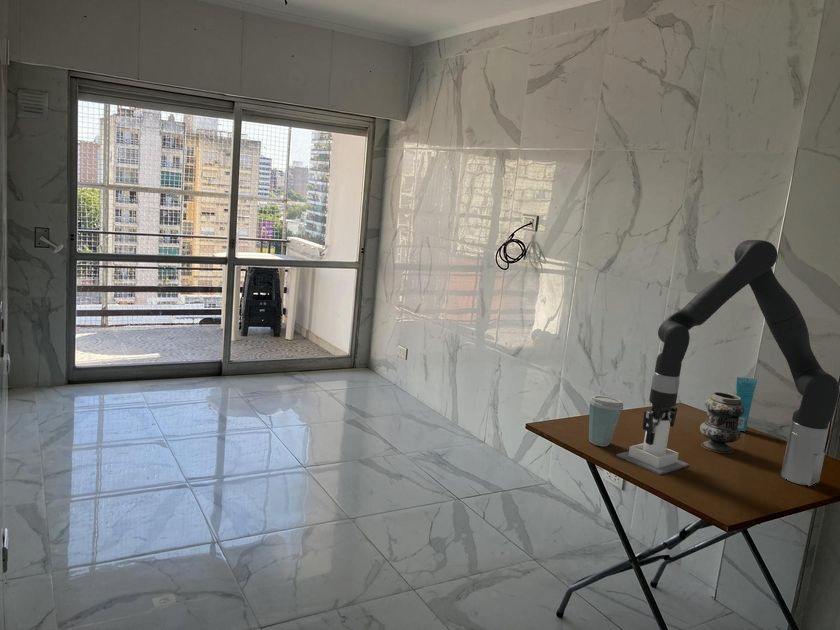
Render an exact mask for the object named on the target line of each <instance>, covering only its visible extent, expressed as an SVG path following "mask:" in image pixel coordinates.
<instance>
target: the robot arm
mask: <svg viewBox="0 0 840 630" xmlns="http://www.w3.org/2000/svg"><path fill="white" fill-rule="evenodd" d="M733 255H734V262H735V265H734V266H732V268H731V269H729V270H728V271H727V272H726V273H725V274H723V276H721V277H719V278H718V279H717V280H715V281H713V282H712V283H711V284H709V285H708V286H706V287H704V288H703V289H702V290H701V291H699V292H698V293H697V294H696V295H695V296H693V298H692V299H691V300H690V301H689V302H688V303H687V304H686V305H685V306H684V307H682V308H681V309H679V310H678V311H676V312H674V313H673V314H672V315H670V316H668V317H667V318H666V319H665V320H664V321H663V322H662V323H661V324H660V326H659V327H658V330H657V336H658V338H659V340H660V341H661V342H662V343H663V348H662V352H661V353H659V354H658V355H657V357H656V360H655V368H654V372H653V377H652V380H651V387H650V393H649V402H650V404H651V405H652V406H651V409H650V410H649V411H648V410H644V412H643V421H642V430H644V431H645V432H646V431H647V435H646V441H645V442H646V443H647V444H649V445H653V442H654V436H655V431H656V427H657V426H659V424H660V422H661V420H663V419H670V420H669V422H670V428H671V427H672V428H673V427H674V425H675V423H676V417H677V413H678V408H677V407H675V406H676V405H677V398H678V393H679V390H680V389H679V388H680V387H679V386H680V377H681V376H680V375H681V371H682V370H681V369H682V364H683V363H682V362H683V361H684V357H685V355H686V353H687V350H688V347H689V343H690V330H691V329H693V327H698V326H701V325H703V324H704V323H705V322H707V320H708V319H710V318H711V317H712V316H713V315H714V314H715V313H716V312H717V311H718V310H719V309H720V308H721V307H722V306H723V305H724V304H726V303H727V301H729V300H730V299H732V298H733V296H735V295H736V294H737V293H738V292H740V291H741V290H742V289H743V288H745V287H746V286H747V285H749V286H750V288H751V291H752V293H753V296H754V297H755V299H756V302H757V305H758V306H759V309H760V311H761V313H762V315H763V319H764V320H765V322H766V325H767V327H768V328H769V331H770V333H771V335H772V337H773V338H774V340H775V342H776V344H777V346H778V349H780V352H781V353H782V354H783V356H784V358H785V361H786V363H787V364H788V368H789V370H790V372H791V376H792V379H793V383H794V384H795V387H796V390H797V391H798V393H799V394H800V395H801V396H802V397H801V402H800V405H799V408H798V409H796V410H794V412H793V414H792V417H791V422H790V427H789V432H788V437H787V442H786V448H785V452H784V457H783V462H782V465H781V466H782V467H781V470H780V471H781V472H780V477H782V478H783V479H785V480H786V479H787V480H786V481H789V482H790V483H791V482H792V483H794V484H798V485H802V486H806V485H808V486H807V487H809V486H811V485H813V484H815V483H817V482H819V483H820V478H821V474H822V469H823V465H824V464H823V463H824V459H825V455H826V453H825V451H824V446H825V442H826V438H827V433H828V428H829V425H830V422H831V421H832V420H833V419H834V415H835V412H836V407H837V404H838V400H839V396H840V384H839V382H838V380H837V378H835V377H834V376H833V375H831V374H829V373H828V372H826V371H825V370H824V369H823V368H822V366H821V365H820V363H819V361H818V360H817V357H816V356H815V354H814V353H813V349H812V347H811V342H810V334H809V328H808V325H807V322H806V320H805V318H804V316H803V314H802V312H801V310H800V307H799V306H798V304H797V303H796V301H795V300H794V299H793V297H792V296H791V295H790V294H789V293H788V291H786V289H785V288H784V287H783V286H782V284H780V282H779V281H778V279H777V278H776V276H775V274H774V270H773V267H774V266H775V265H776V264H775V263H776V262H777V259H778V250H777V248H776V245H774V244H773V243H771V242H769V241H767V240H763V239H762V240H761V239H748V240H743V241H741V242H740V243H739V244H737V246H736V248H735V249H734V254H733ZM653 418H655V419H658V421H657V422H656V423H655V422H653ZM647 424H648V425H647ZM653 425H654V427H653V429H652V426H653ZM817 484H818V483H817ZM815 485H816V484H815ZM813 486H814V485H813ZM811 487H812V486H811Z"/></svg>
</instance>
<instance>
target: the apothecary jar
mask: <svg viewBox="0 0 840 630" xmlns="http://www.w3.org/2000/svg"><path fill="white" fill-rule="evenodd" d="M704 406H705V408H706V410H707V413H706V418H705V421H704V422H702V423H701V424H700V425H699V431H700V433H701V434H702V435H703V436H704V437H705V438H707V439H709V440H706V441H702V442H701V443H700V446H701V447H702V448H704V449H705V450H708V451H710V452H714V453H718V454H726V455H727V454H728V455H729V454H732V453H734V451H735V450H734V448H733V447H732V446H730V445H728V444H729V443H731V444H732V443H735V442H737V441H739V439H740V438H741V432H740V431H739V430H738V429H737V427H738V420H739V416H741V415H742V414H743V413H744V411H745V409H744V407H743V405H742V404H741V398H740V397H738V396H736V395H735V394H733V393H728V392H723V391H714V392H712V395H711V397H709V398H708V399H706V400H705V403H704Z"/></svg>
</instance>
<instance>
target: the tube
mask: <svg viewBox="0 0 840 630" xmlns="http://www.w3.org/2000/svg"><path fill="white" fill-rule="evenodd" d="M757 383H758V378H749V377H740V376H737V377H736V384H735V385H736V386H735V394H734V395H736V396H738V397H740V398H741V404H742V405H743V407H744V409H745V411H744V413H743V414H742V415H741V416H739V420H738V427H737V429H738V430H739V432H740V431H744V432H746V431H747V426H748V422H749V417H750V416H749V415H750V411H751V406H752V403H753V398H754V395H755V390H756V386H757Z"/></svg>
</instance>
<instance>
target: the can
mask: <svg viewBox="0 0 840 630" xmlns="http://www.w3.org/2000/svg"><path fill="white" fill-rule="evenodd" d="M670 419H671V418H670ZM670 419H663V420H661V422H660V424H659V426H657V427H656V431H655V436H654V442H653V445H649V444H647V443H646V442H645V441H646V435H647V431H646V430H645V433H644V440H643V443H644V445H643V451H645V452H647V453H650V454H652V455H655V456H657V457H661V456H664V455H665V453H666V448H667V446H668V439H669V434H670V429H671V427H670V422H669V420H670ZM657 421H658V419H655V418H653V422H655V423H656V422H657ZM647 425H648V424H647ZM653 427H654V425H653V426H652V429H653Z"/></svg>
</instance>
